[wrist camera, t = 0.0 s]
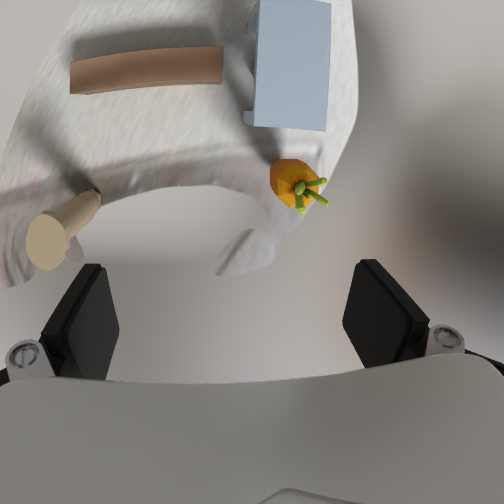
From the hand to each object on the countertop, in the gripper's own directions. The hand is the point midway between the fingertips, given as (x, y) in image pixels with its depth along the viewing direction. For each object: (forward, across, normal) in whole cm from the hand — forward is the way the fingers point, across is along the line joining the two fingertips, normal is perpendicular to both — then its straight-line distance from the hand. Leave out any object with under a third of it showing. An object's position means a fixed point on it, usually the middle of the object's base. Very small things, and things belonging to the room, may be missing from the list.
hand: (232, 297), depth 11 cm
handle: (+31, +18, +5) cm, 37 cm away
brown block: (+32, +9, -12) cm, 35 cm away
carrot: (+31, -8, +1) cm, 32 cm away
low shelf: (+31, -6, -12) cm, 34 cm away
